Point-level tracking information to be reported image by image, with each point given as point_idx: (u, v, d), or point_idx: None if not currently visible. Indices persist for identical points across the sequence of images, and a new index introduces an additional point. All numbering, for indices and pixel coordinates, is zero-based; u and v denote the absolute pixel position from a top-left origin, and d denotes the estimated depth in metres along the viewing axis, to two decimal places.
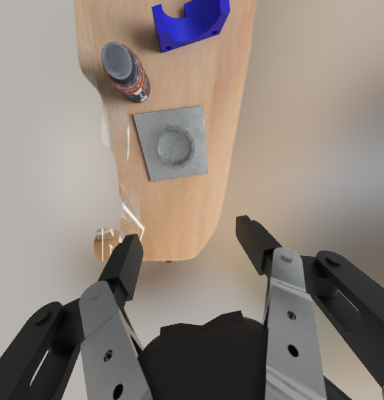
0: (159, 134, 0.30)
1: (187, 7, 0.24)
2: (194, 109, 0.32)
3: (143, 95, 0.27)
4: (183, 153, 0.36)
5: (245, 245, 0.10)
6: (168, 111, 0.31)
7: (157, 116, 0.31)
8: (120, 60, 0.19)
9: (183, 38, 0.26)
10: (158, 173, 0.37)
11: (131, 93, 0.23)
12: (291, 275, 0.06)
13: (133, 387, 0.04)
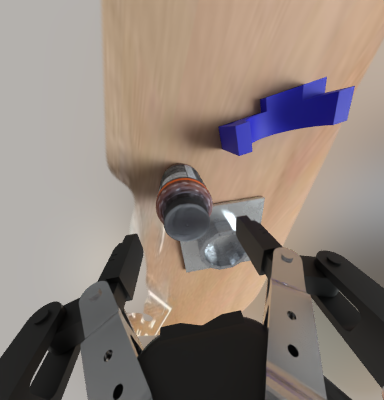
0: (209, 240, 0.23)
1: (270, 101, 0.17)
2: (252, 202, 0.24)
3: None
4: (230, 244, 0.28)
5: (245, 245, 0.10)
6: (219, 206, 0.24)
7: None
8: (193, 223, 0.12)
9: (258, 136, 0.18)
10: (196, 264, 0.30)
11: None
12: (291, 275, 0.06)
13: (133, 387, 0.04)
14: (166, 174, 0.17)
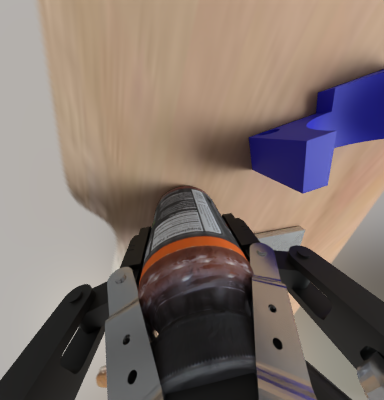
0: None
1: (340, 93, 0.10)
2: (287, 236, 0.17)
3: None
4: None
5: None
6: None
7: None
8: None
9: None
10: None
11: None
12: (267, 268, 0.06)
13: (133, 387, 0.04)
14: (162, 210, 0.10)
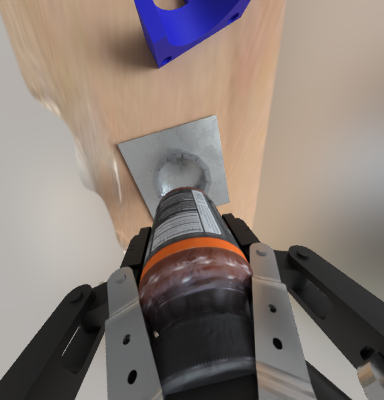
0: (158, 167, 0.21)
1: None
2: (203, 122, 0.21)
3: None
4: (194, 183, 0.26)
5: None
6: (166, 131, 0.21)
7: (151, 141, 0.22)
8: None
9: (189, 38, 0.17)
10: None
11: None
12: (267, 268, 0.06)
13: (133, 387, 0.04)
14: (162, 211, 0.10)
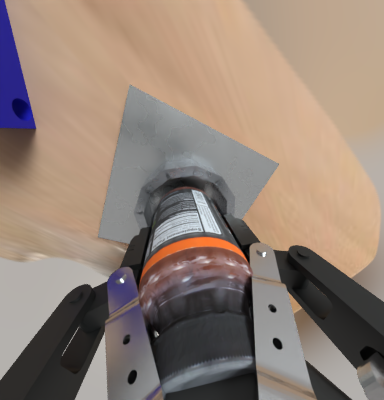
0: None
1: None
2: (129, 116, 0.12)
3: None
4: (205, 192, 0.16)
5: None
6: (112, 179, 0.14)
7: (115, 203, 0.15)
8: None
9: None
10: None
11: None
12: (267, 268, 0.06)
13: (133, 387, 0.04)
14: (162, 211, 0.10)
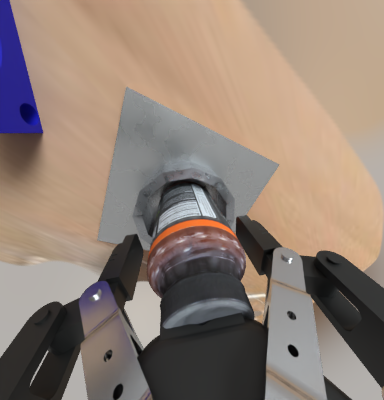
0: (141, 232, 0.13)
1: None
2: (126, 119, 0.11)
3: None
4: None
5: (245, 245, 0.10)
6: (111, 182, 0.14)
7: (113, 206, 0.15)
8: None
9: None
10: None
11: None
12: (291, 275, 0.06)
13: (133, 387, 0.04)
14: (165, 201, 0.11)
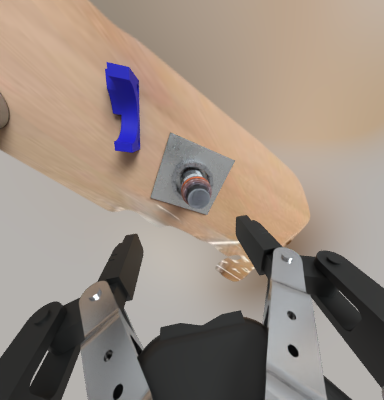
0: (174, 189, 0.31)
1: (115, 110, 0.26)
2: (169, 143, 0.30)
3: None
4: None
5: (245, 245, 0.10)
6: (160, 169, 0.32)
7: (160, 180, 0.33)
8: (201, 198, 0.24)
9: (135, 124, 0.27)
10: None
11: None
12: (291, 275, 0.06)
13: (133, 387, 0.04)
14: (184, 175, 0.29)
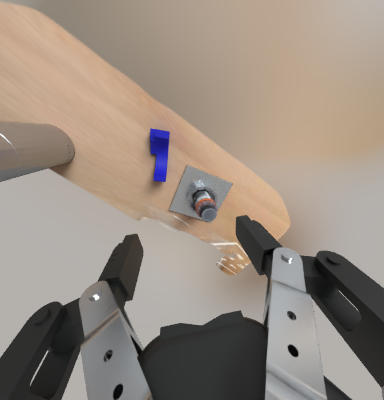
0: (188, 205, 0.42)
1: (152, 152, 0.37)
2: (186, 172, 0.41)
3: None
4: None
5: (245, 245, 0.10)
6: (178, 189, 0.43)
7: (177, 197, 0.44)
8: (211, 214, 0.35)
9: (165, 160, 0.38)
10: None
11: None
12: (291, 275, 0.06)
13: (133, 387, 0.04)
14: (197, 195, 0.41)
